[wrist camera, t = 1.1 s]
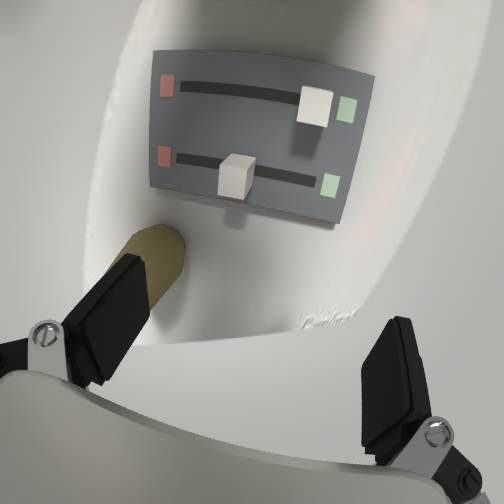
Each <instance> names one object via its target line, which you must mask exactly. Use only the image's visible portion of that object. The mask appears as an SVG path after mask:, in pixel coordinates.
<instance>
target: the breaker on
mask: <svg viewBox="0 0 504 504" xmlns="http://www.w3.org/2000/svg"><path fill="white" fill-rule="evenodd" d="M332 98H333V92H332V91H330V90H326V89H321V88H316V87H311V86H306V85H304V86H302V91H301V97H300V103H299V109H298V115H297V121H299V122H304V123H309V124H313V125H318V126H323V127H327V124H328V119H329V114H330V109H331V103H332Z"/></svg>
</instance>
